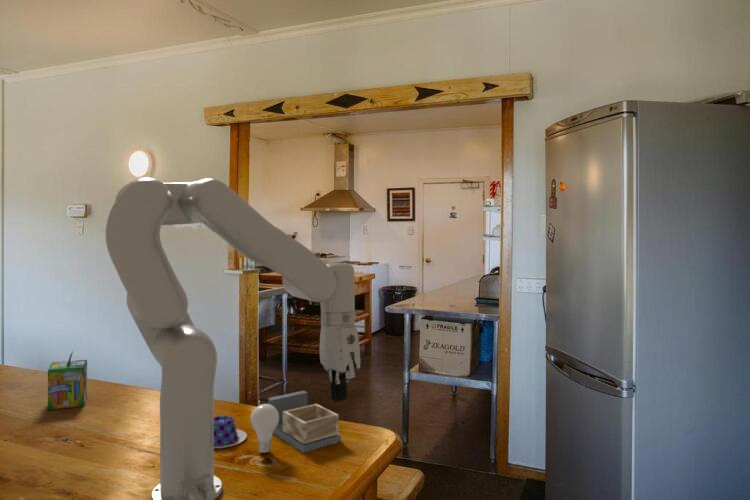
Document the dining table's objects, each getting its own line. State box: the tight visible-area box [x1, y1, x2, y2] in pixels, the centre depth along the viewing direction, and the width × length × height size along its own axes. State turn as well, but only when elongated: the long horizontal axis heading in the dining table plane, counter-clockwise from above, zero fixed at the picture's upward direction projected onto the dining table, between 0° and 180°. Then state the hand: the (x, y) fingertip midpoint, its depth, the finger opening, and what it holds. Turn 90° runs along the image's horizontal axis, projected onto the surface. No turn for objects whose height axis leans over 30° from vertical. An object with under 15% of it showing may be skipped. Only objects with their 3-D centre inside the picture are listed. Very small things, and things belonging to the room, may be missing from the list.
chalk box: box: [47, 351, 88, 411], centre depth 146 cm, size 9×9×15 cm
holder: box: [283, 403, 340, 444], centre depth 123 cm, size 10×10×5 cm
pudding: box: [214, 415, 248, 449], centre depth 123 cm, size 12×12×5 cm
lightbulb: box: [250, 403, 279, 454], centre depth 115 cm, size 6×6×11 cm
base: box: [267, 390, 342, 454], centre depth 125 cm, size 18×10×8 cm, turn 39°
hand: (339, 399), depth 114 cm, fingers closed
